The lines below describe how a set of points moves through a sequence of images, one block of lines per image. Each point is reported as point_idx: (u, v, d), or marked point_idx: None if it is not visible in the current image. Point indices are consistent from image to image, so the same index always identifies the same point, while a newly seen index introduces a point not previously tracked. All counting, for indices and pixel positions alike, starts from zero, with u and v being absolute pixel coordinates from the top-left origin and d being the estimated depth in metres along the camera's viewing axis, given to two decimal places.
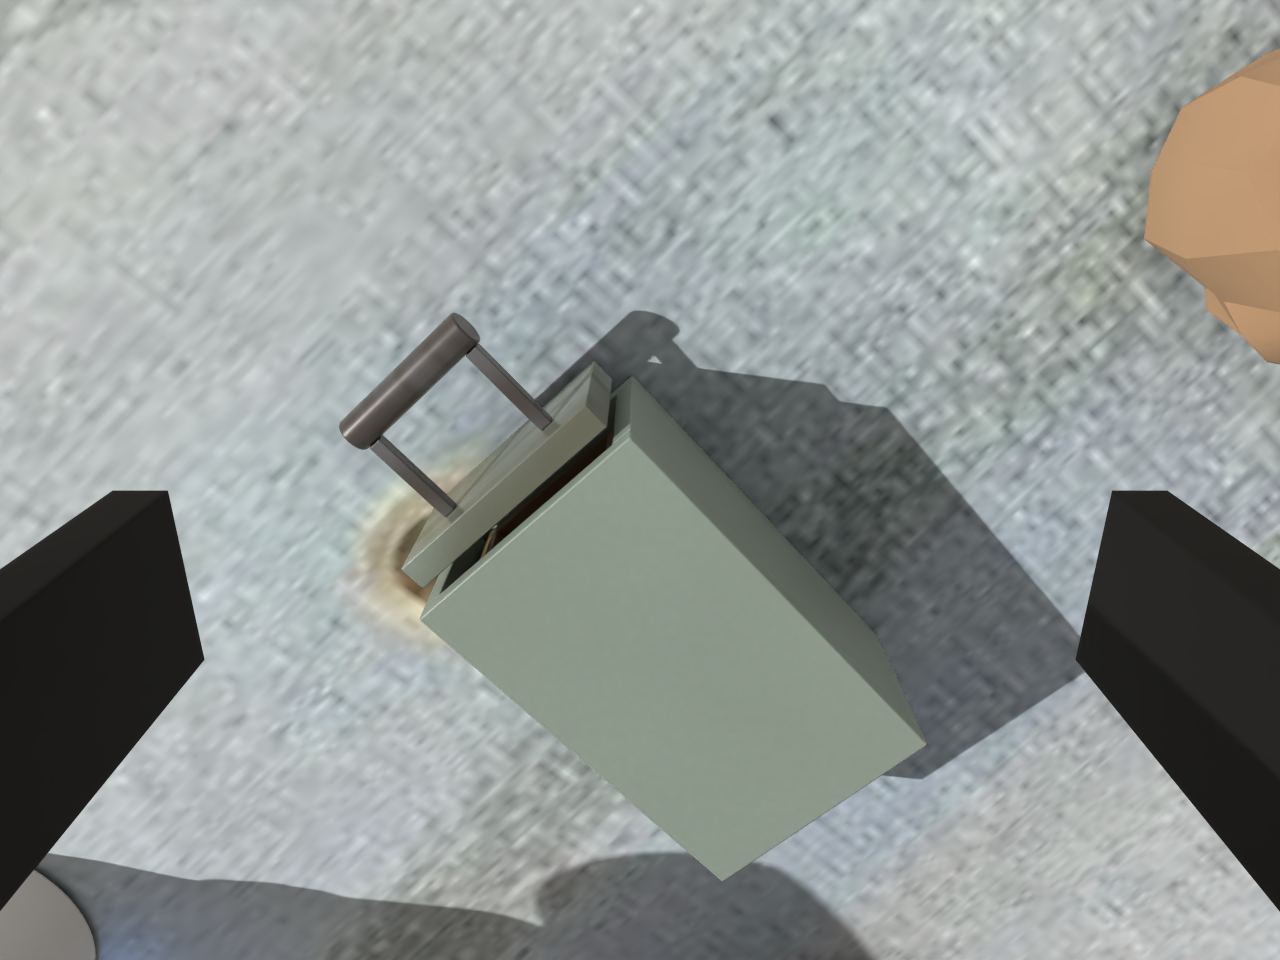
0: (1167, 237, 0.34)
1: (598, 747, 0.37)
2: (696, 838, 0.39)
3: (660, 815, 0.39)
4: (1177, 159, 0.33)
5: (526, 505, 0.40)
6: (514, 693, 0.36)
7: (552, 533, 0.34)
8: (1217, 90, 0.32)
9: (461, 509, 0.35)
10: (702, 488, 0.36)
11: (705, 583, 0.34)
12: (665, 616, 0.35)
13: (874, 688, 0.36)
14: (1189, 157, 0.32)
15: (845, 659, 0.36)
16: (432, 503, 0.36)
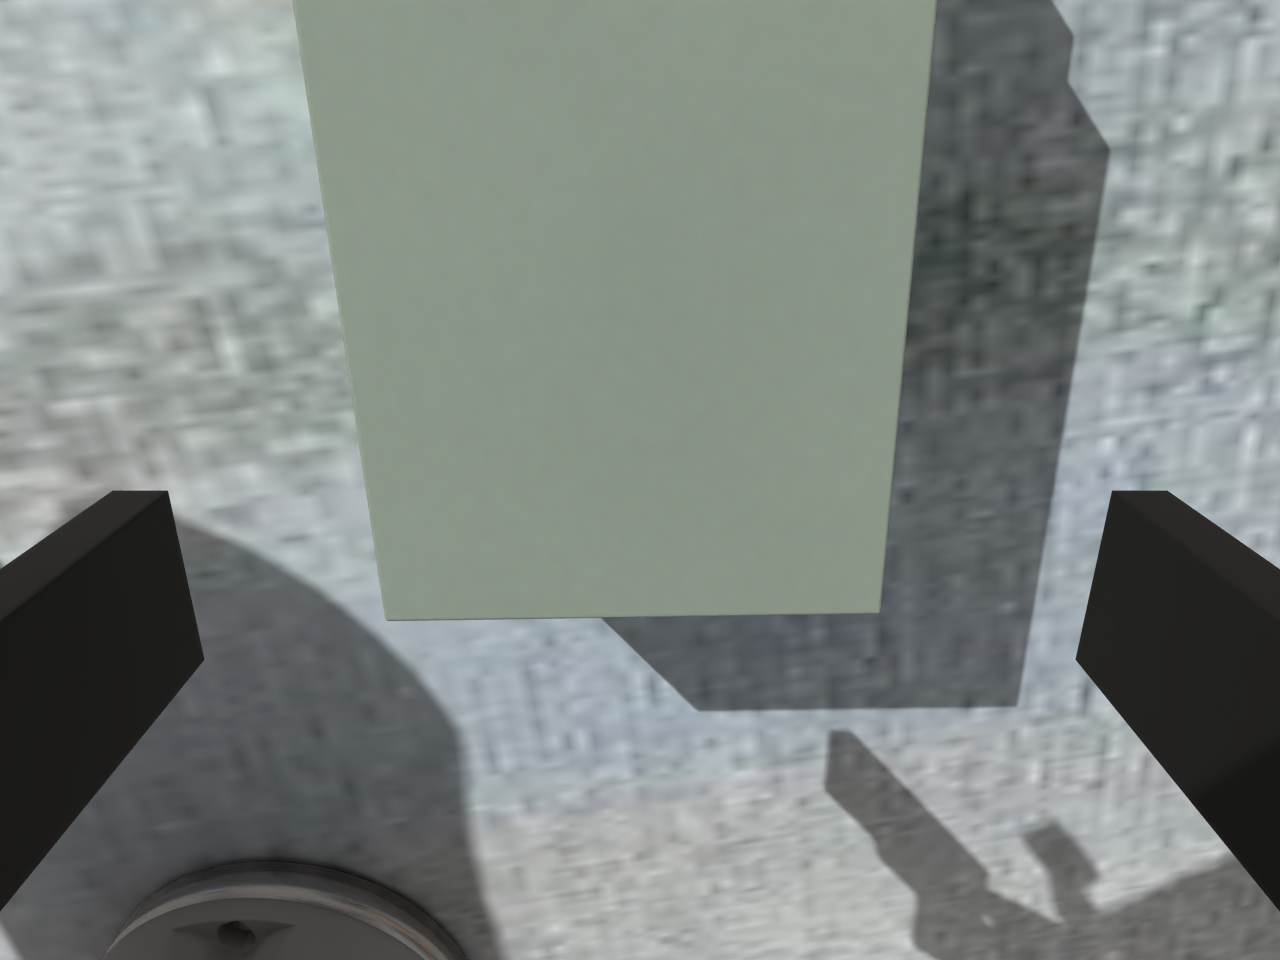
0: None
1: (374, 198, 0.17)
2: (406, 513, 0.19)
3: (379, 425, 0.19)
4: None
5: None
6: None
7: None
8: None
9: None
10: None
11: (828, 18, 0.16)
12: (707, 26, 0.16)
13: (893, 460, 0.19)
14: None
15: (901, 372, 0.18)
16: None
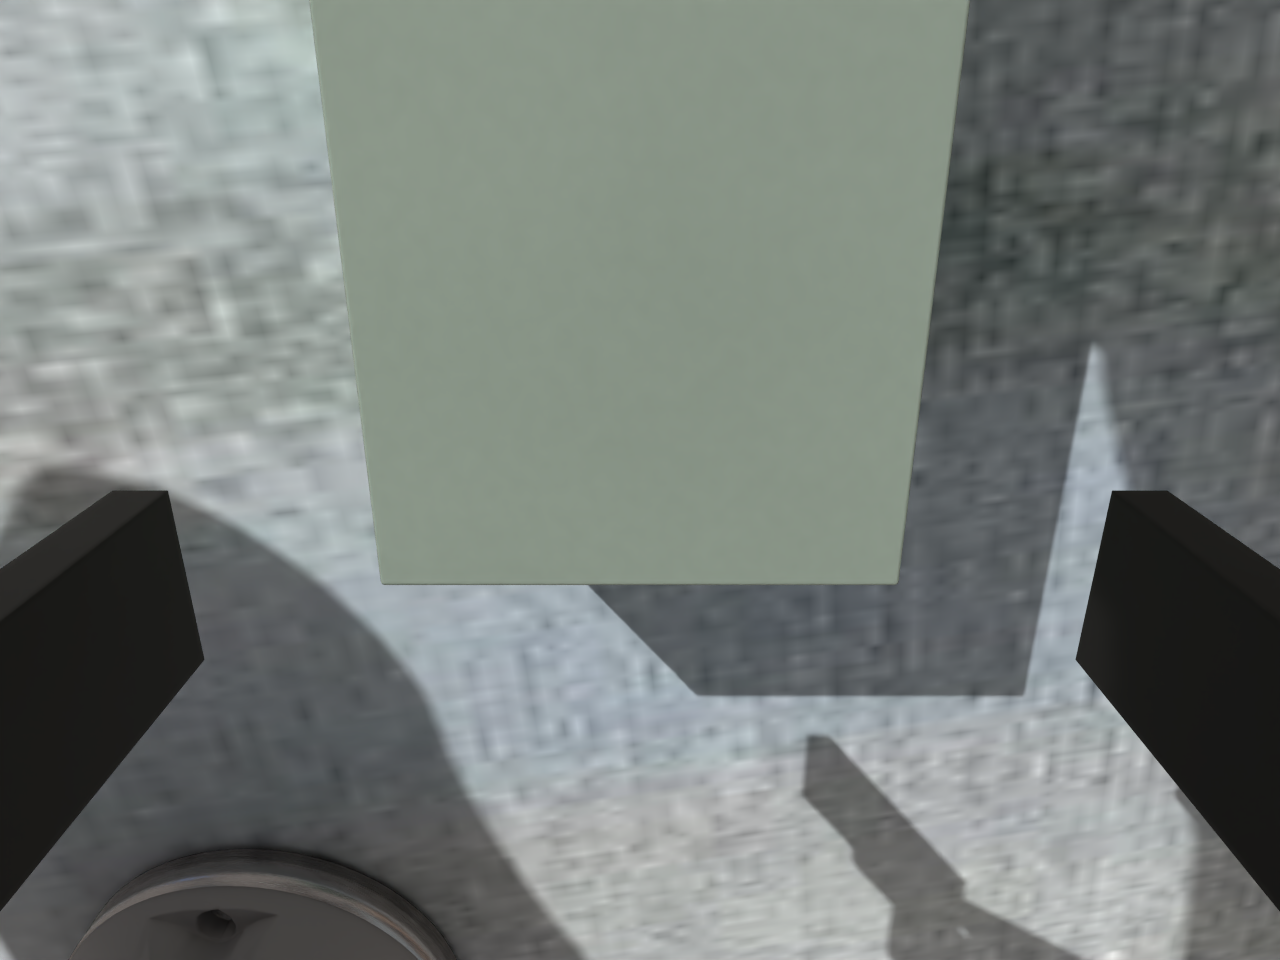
0: None
1: (380, 130, 0.16)
2: (405, 469, 0.18)
3: (379, 374, 0.18)
4: None
5: None
6: None
7: None
8: None
9: None
10: None
11: None
12: None
13: (917, 422, 0.18)
14: None
15: (928, 328, 0.17)
16: None
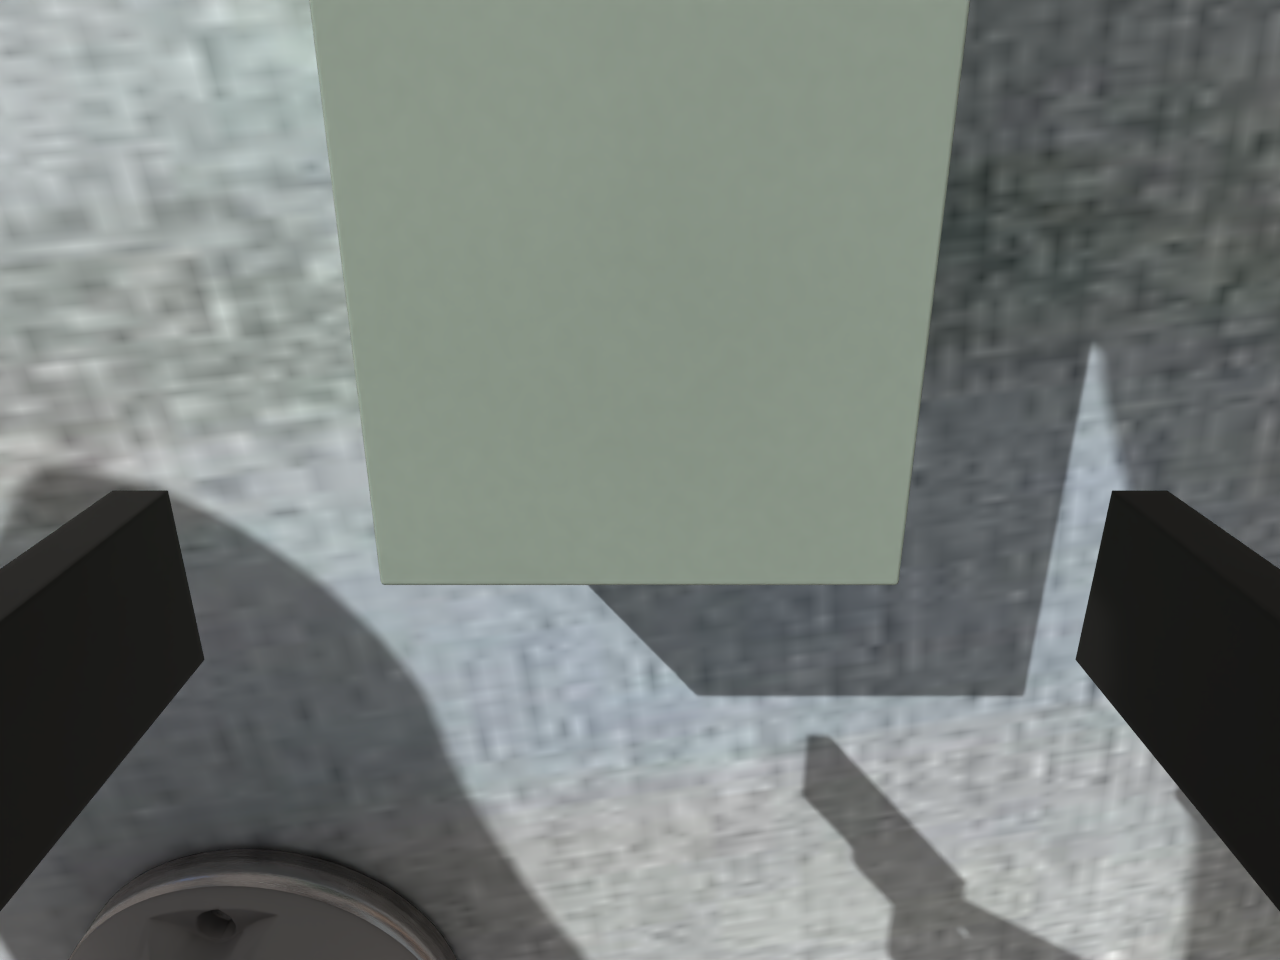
0: None
1: (380, 130, 0.16)
2: (405, 469, 0.18)
3: (379, 374, 0.18)
4: None
5: None
6: None
7: None
8: None
9: None
10: None
11: None
12: None
13: (917, 422, 0.18)
14: None
15: (928, 328, 0.17)
16: None
